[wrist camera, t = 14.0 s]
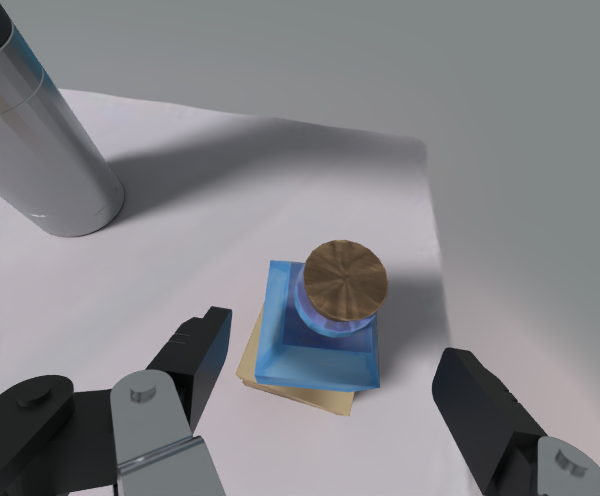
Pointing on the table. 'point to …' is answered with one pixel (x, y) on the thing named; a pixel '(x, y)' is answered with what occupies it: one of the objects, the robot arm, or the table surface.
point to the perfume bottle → (323, 320)
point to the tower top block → (315, 397)
